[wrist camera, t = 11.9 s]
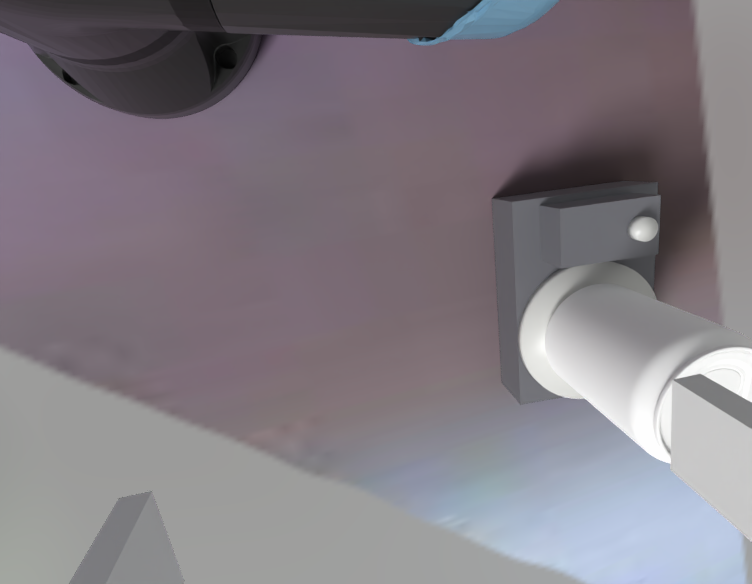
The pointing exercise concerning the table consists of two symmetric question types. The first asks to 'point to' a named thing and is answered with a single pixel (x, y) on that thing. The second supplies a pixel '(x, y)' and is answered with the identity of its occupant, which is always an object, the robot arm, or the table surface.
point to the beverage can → (640, 357)
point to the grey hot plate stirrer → (565, 266)
